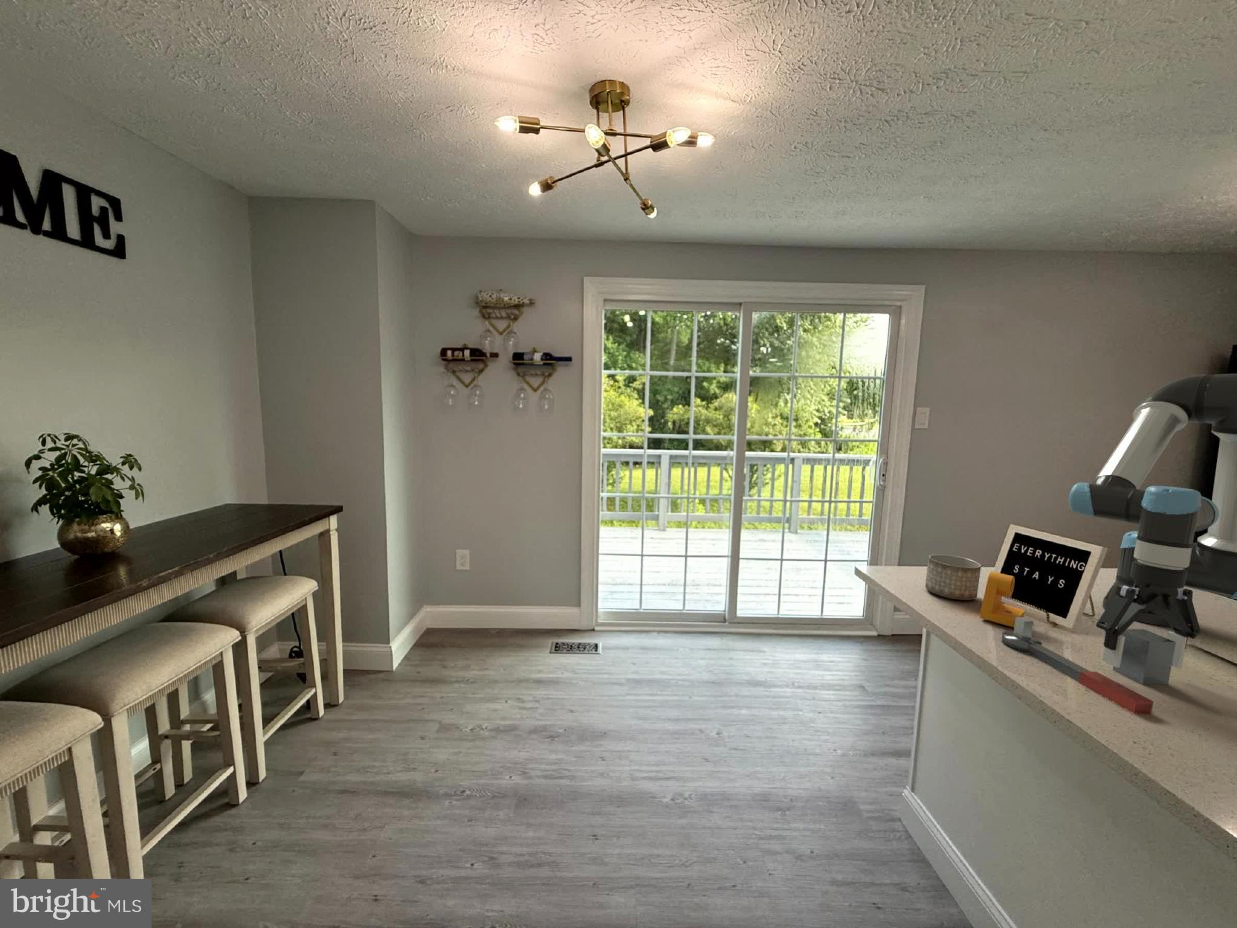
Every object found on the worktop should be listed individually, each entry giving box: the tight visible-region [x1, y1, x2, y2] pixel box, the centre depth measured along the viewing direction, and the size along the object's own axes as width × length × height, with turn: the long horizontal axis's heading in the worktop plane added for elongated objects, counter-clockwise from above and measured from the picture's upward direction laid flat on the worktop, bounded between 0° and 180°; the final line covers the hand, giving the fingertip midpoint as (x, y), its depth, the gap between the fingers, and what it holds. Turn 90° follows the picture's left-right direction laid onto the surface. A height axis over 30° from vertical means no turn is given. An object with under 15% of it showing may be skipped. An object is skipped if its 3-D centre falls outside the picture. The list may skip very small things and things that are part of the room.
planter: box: [924, 553, 982, 601], centre depth 144 cm, size 13×13×10 cm
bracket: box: [979, 571, 1026, 628], centre depth 127 cm, size 11×7×12 cm, turn 131°
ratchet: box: [1001, 616, 1154, 715], centre depth 103 cm, size 28×7×6 cm, turn 4°
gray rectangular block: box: [1112, 628, 1176, 686], centre depth 101 cm, size 6×6×9 cm
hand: (1141, 664), depth 101 cm, fingers open, 13 cm apart
